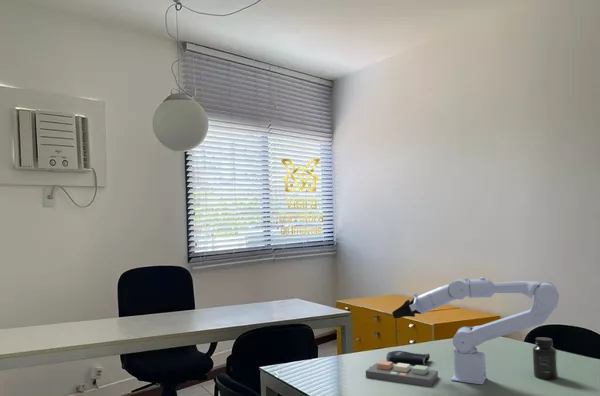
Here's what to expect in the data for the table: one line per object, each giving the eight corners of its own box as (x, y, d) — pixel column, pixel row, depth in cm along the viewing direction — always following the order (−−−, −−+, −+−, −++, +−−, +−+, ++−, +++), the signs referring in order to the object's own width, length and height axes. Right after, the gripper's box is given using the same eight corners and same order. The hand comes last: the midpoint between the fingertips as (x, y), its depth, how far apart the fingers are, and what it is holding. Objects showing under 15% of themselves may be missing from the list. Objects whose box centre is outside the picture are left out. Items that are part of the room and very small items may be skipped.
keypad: (438, 377, 154) (437, 370, 154) (430, 386, 146) (429, 379, 146) (376, 368, 165) (376, 362, 165) (365, 377, 156) (365, 370, 156)
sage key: (428, 371, 154) (428, 366, 154) (425, 375, 150) (424, 369, 150) (416, 369, 156) (416, 364, 156) (412, 373, 152) (412, 368, 152)
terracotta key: (392, 366, 160) (392, 362, 160) (388, 370, 156) (388, 365, 156) (381, 365, 162) (381, 360, 162) (377, 368, 158) (377, 363, 158)
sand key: (410, 369, 157) (410, 364, 157) (406, 372, 153) (406, 367, 153) (398, 367, 159) (398, 362, 159) (394, 370, 155) (394, 365, 155)
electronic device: (430, 364, 174) (390, 354, 181) (431, 350, 174) (391, 340, 181) (423, 375, 166) (382, 364, 173) (425, 360, 166) (383, 349, 172)
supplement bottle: (563, 378, 150) (560, 339, 151) (546, 381, 148) (544, 342, 149) (545, 372, 157) (543, 335, 157) (529, 375, 154) (527, 337, 155)
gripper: (432, 286, 165) (397, 301, 170) (422, 289, 152) (385, 304, 157) (441, 306, 163) (405, 320, 168) (432, 310, 150) (394, 325, 155)
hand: (396, 314), depth 162 cm, fingers open, 7 cm apart
